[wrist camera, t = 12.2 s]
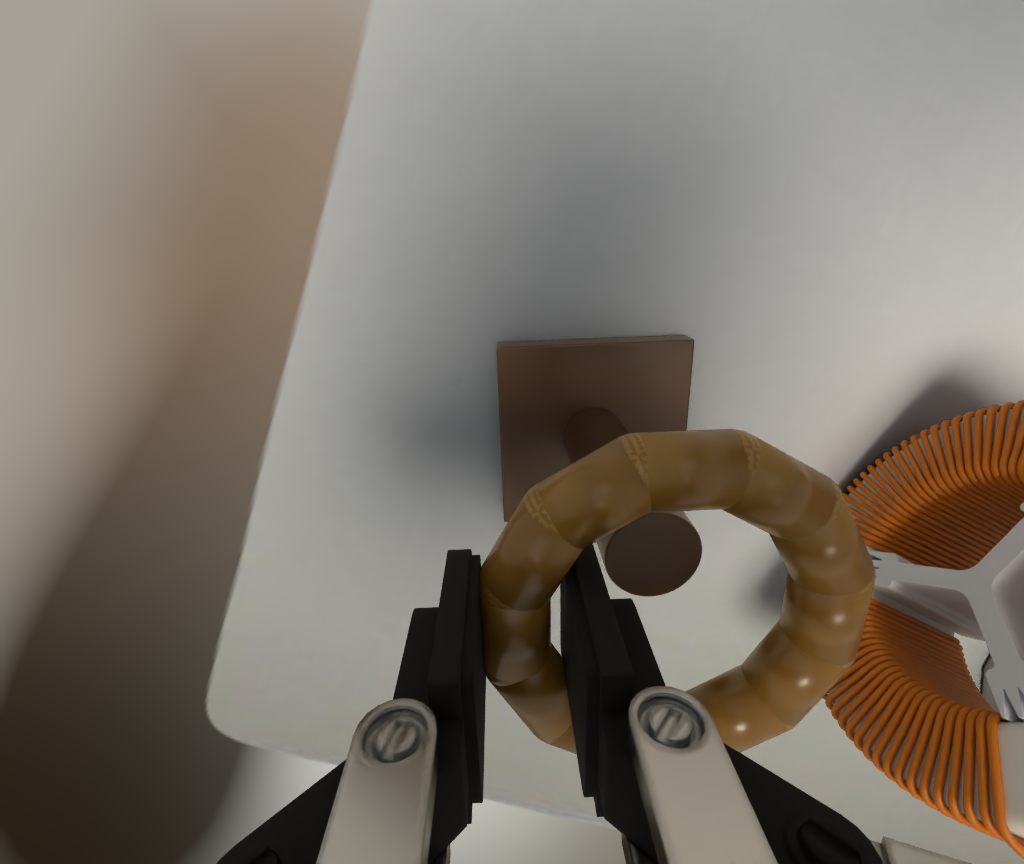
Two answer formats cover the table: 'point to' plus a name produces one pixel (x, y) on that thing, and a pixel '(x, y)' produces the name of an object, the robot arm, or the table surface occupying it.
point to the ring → (683, 487)
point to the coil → (944, 620)
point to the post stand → (599, 434)
